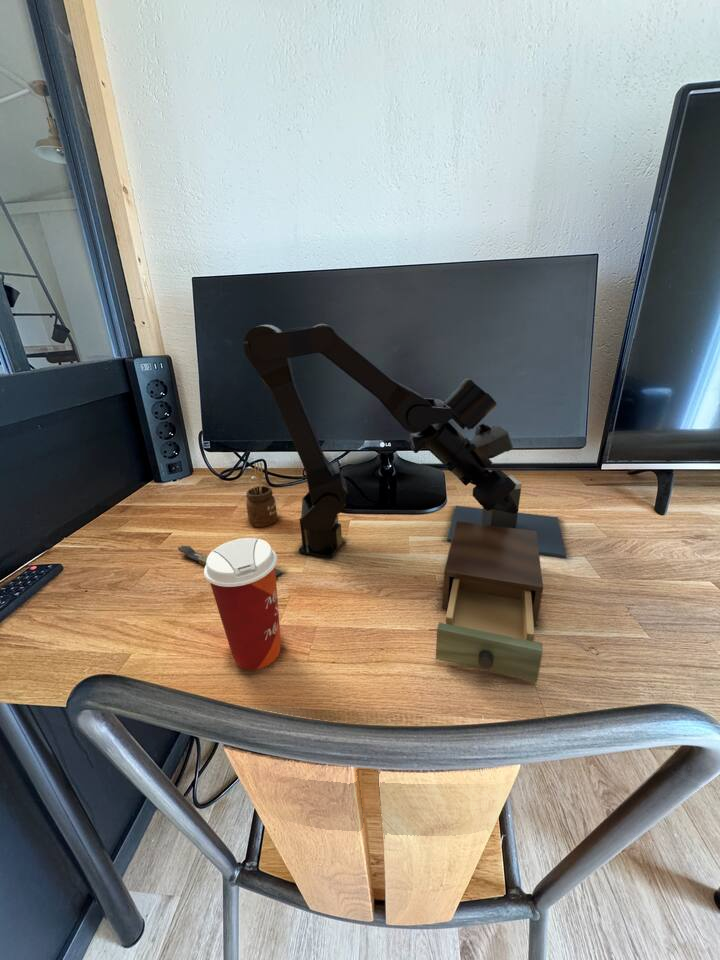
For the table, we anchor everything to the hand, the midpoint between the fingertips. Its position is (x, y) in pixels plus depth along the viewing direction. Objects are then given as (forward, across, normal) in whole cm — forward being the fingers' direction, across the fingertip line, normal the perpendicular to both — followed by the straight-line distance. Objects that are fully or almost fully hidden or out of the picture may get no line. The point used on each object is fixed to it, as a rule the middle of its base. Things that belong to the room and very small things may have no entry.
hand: (504, 500), depth 74 cm
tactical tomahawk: (-32, -3, +41) cm, 52 cm away
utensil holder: (-28, +12, +38) cm, 49 cm away
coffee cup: (-26, -24, +36) cm, 50 cm away
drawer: (-6, -26, +14) cm, 30 cm away
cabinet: (-2, -15, +11) cm, 19 cm away
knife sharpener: (+4, 0, +5) cm, 6 cm away
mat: (+5, 0, +4) cm, 6 cm away
